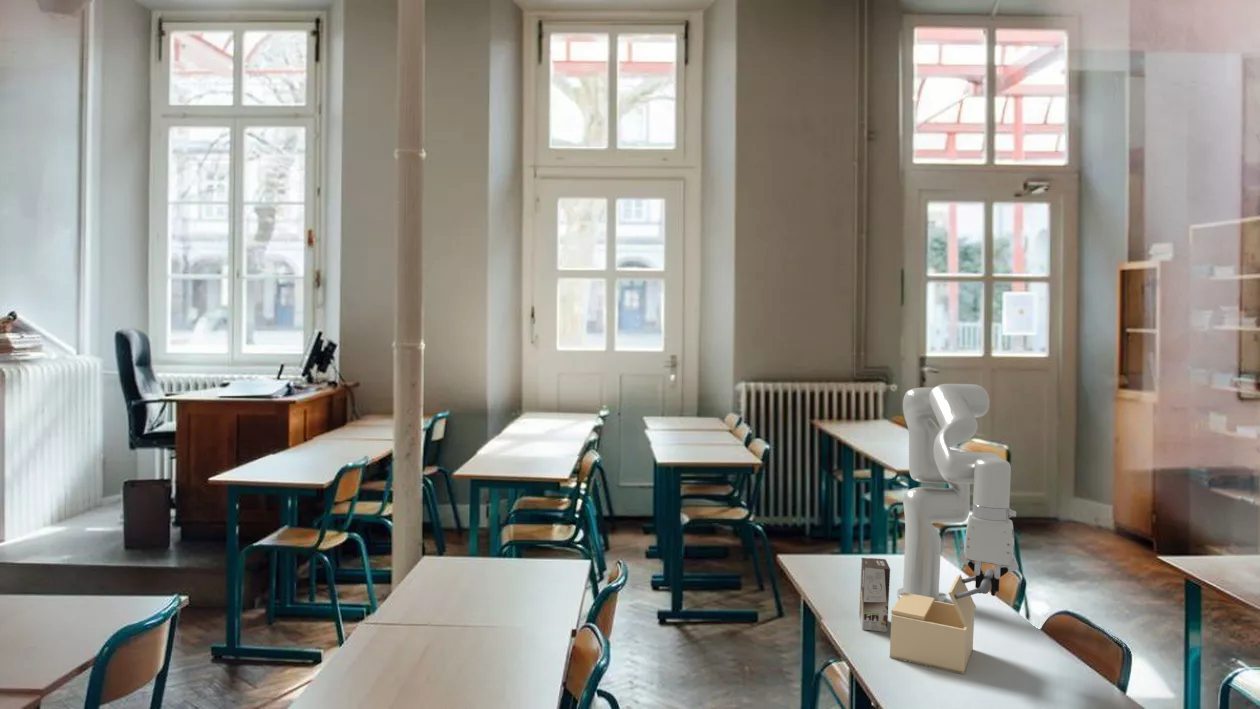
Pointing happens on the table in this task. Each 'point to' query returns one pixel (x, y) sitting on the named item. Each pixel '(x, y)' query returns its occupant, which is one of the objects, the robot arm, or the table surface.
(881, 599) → the coffee box
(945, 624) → the carton
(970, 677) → the table surface
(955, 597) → the flap
